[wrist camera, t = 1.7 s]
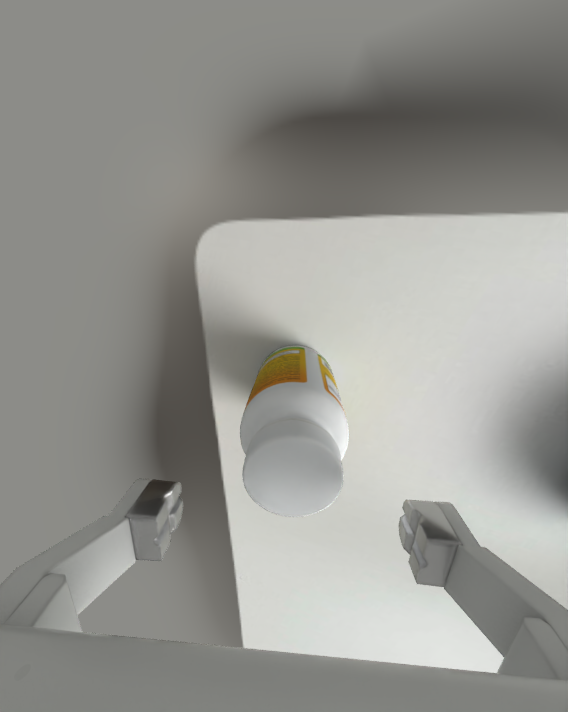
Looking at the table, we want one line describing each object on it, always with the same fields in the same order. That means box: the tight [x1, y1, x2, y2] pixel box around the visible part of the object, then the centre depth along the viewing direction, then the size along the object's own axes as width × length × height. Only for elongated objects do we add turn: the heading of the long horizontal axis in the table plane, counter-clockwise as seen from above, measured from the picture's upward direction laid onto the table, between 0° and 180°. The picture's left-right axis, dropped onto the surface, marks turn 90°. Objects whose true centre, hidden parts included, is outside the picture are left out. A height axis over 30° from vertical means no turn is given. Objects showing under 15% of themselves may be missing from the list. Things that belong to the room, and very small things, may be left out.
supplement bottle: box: [240, 346, 349, 517], centre depth 15 cm, size 5×5×10 cm
